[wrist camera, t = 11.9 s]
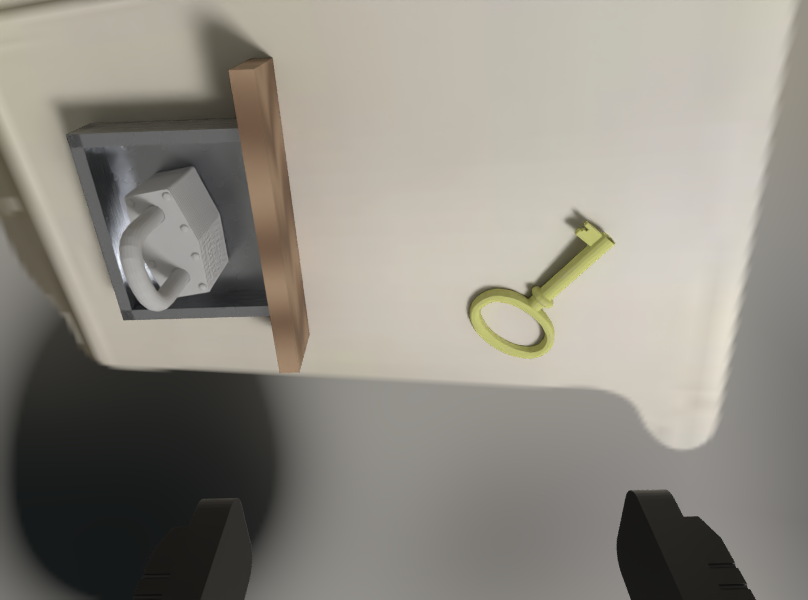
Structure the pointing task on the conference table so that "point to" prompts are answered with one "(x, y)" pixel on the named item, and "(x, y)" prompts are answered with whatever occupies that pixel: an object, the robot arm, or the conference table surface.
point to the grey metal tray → (162, 151)
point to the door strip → (271, 206)
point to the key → (540, 296)
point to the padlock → (172, 238)
